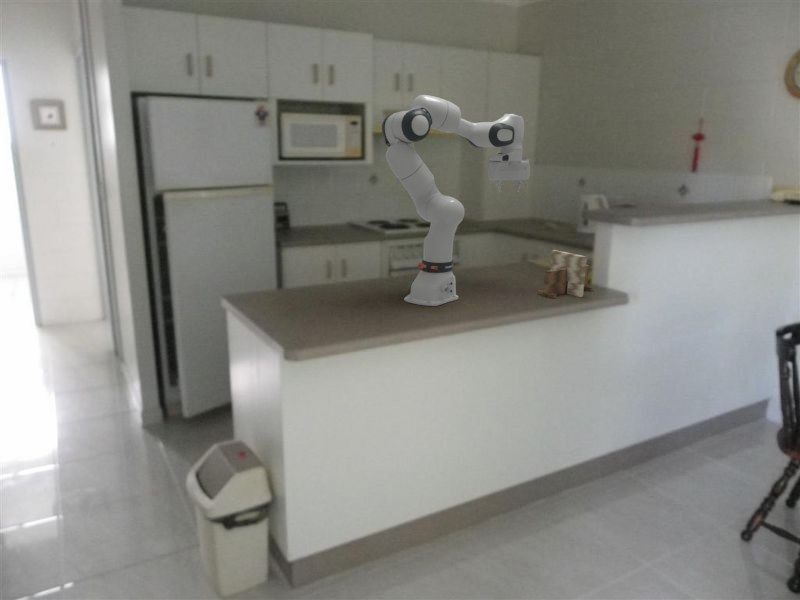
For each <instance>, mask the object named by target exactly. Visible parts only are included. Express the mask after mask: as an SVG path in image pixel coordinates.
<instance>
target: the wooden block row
mask: <svg viewBox="0 0 800 600" xmlns="http://www.w3.org/2000/svg"><path fill="white" fill-rule="evenodd" d="M566 274H567V269H564V268H561V269H555V270H550V269H549V270H544V278H543V289H538V290H537V292H536V294H537V295H538V296H539V295H540V296H543V297H545V298H549V299H552V300H554V299H557V296H558V295H563V294H567V286H568V281H566ZM589 275H590V265H589V264H586V272H585V282H584V291H587V292H593V291H594V287H593V286H590V285H588V284H589Z"/></svg>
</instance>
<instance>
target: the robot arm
mask: <svg viewBox="0 0 800 600" xmlns="http://www.w3.org/2000/svg"><path fill="white" fill-rule="evenodd" d="M431 130H435V131H438V132H442V133H445V134H447V133H448V134H455V135H457V136H459V137H461V138H464V139H465V140H466V141H468V143H469V144H470V145H471V146H472V147H474V148H478V149H479V148H480V149H481V148H489V149H490V148H493V149H494V148H496V149H497V148H498V149H499V151H497V152H495V153H493V154H491V155H489V159H488V160H489V161H490V162H488V163H489V164H488V167H487V179H488V181H493V182H494V184H495V187H496V192H497V193H502V192H503V190H504V187H502V186H501V184H502V182H503V181H515V182H516V185H515V186H514V188H513V191H514V192H515V193H517V192H518V193H519V192H520V190H521V187H522V184H523V181H529V180H530V178H531V165H530V159H529V158H528V157H527V156H523V153H524V152H523V149H524V147H523V141H524V135H525V120H524V118H523V116H522V115H521V114H517V113H511V112H507V113H504V115H503V116H502V117H500V118H499V119H497V120H494V121H474V122H472V121H469V120H467V119H464V118H462V112H461V108H460V106H458V105H456V104H455V103H454V102H451V101H449V100H447V99H445V98H444V99H443V98H441V97H438V96H434V95H428V94H419V95H417V96H415V98H414V99H413V101H412V103H411V106H410V109H409V110H401V111H398V112H394V113H390V114H389V115H387V116H386V117H385V118H384V119H383V121H382V123H381V133H382V135H383V138H384V141H385V145H386V146H388V147H387V150H386V152H385V159H386V162H387V164H388V166H389V167H390V170H391V171H392V173H393V174H394V176H395V177H396V179H397V180H398V181H399V183H400V184H401V186H403V188H404V189H405V190H406V192H407V193H408V195H409V196H410V198H411V200H412V202H413V204H414V206H415V211H416V213H417V215H418V216H419V217H420V218H421V219H422V220H423V221H425V222H428V223H430V225H429V231H428V232H427V235H426V236H425V238H424V239H423V258H422V260H421V262H418V263H417V268H418V269H420V271H419V273H418V274H417V276H416V277H415V279H414V280H413V282H412V283H411V286H410V293H409V294H407V295H406V296H405V297H403V298H404V299H403V301H404V302H406V303H409V304H414V305H419V306H420V305H421V306H426V307H427V306H429V307H437V306H440V305H445V304H446V303H450V302H453V301H456V300H459V299H460V298H459V295H457V291H456V290H457V288H456V287H457V286H456V284H457V282H456V276H455V275H454V273H453V269H454V260H453V251H454V250H453V247H454V239H455V236H456V232H457V229H458V226H459V224H460V223H462V221H464V220H463V219H464V217H465V212H466V211H465V207H464V205H463V204H462V203H461V201H460V200H458V199H457V198H455V197H454V196H449V195H444V194H442V193H441V192H440V190H439V189H438V187H437V185H436V182H435V179H436V178H435V176H434V174H433V173H432V172H431V170H430V169H429V168H428V166H427V165H426V163H425V162H424V161H423V159H422V158H421V157H420V155H419V154H418V153H417V151H416V148H415V143H417V142H421V141H422V140H424V139H425V138H427V136H428V135H429V133H430V131H431Z"/></svg>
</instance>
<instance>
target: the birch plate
mask: <svg viewBox="0 0 800 600" xmlns="http://www.w3.org/2000/svg"><path fill="white" fill-rule="evenodd" d="M550 257H551V258H550V259H551V260H550V269H549V270H555V269H561V268H564V269H567V274H566V281H568V286H567V293H566V294H567V295H571V296H573V297H577V298H582V297H584V291H585V290H584V282H585V272H586V265H587V262H588V256H585V255H581V254H577V253H571V252H567V251H563V250H557V249H552V250H551V256H550Z"/></svg>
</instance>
